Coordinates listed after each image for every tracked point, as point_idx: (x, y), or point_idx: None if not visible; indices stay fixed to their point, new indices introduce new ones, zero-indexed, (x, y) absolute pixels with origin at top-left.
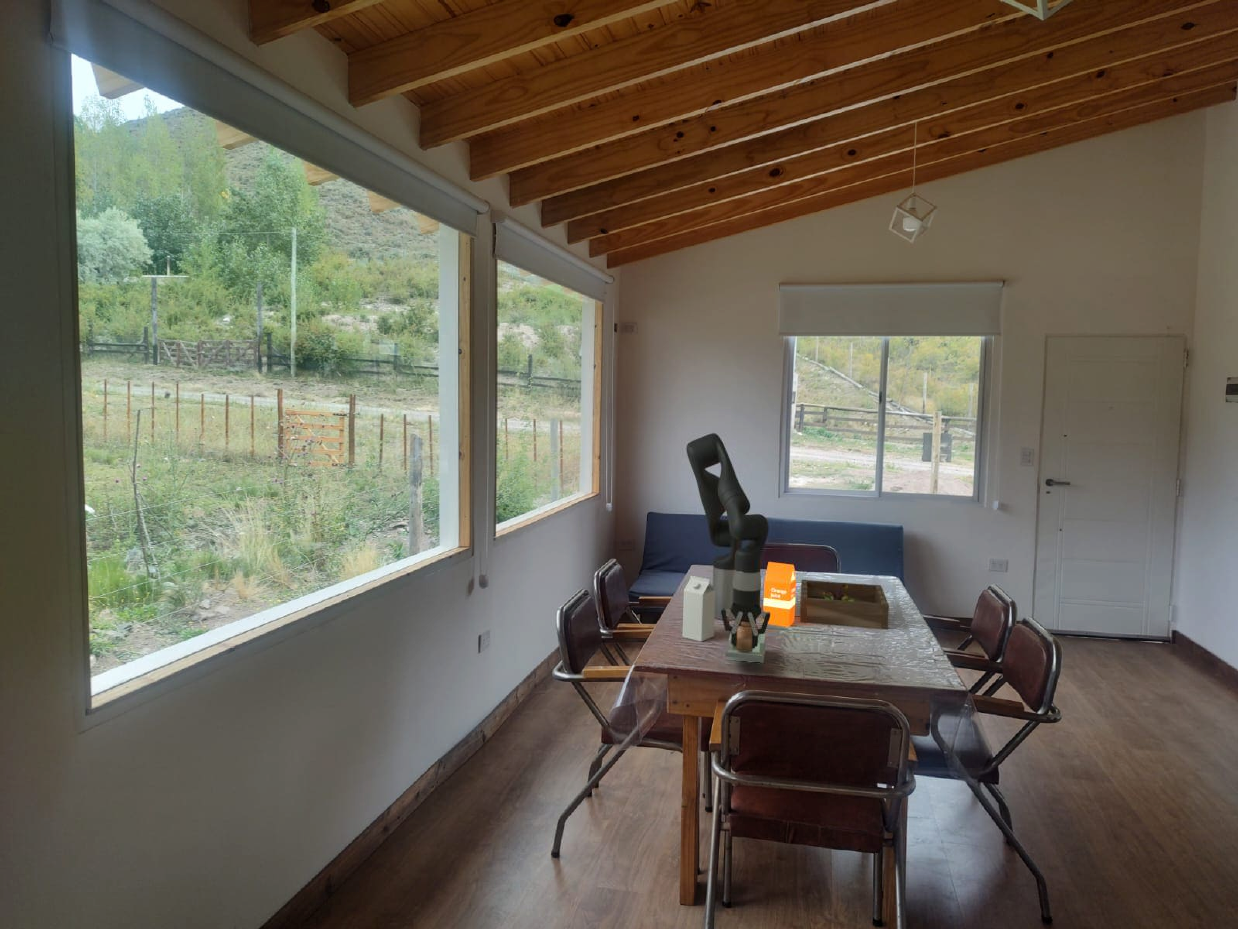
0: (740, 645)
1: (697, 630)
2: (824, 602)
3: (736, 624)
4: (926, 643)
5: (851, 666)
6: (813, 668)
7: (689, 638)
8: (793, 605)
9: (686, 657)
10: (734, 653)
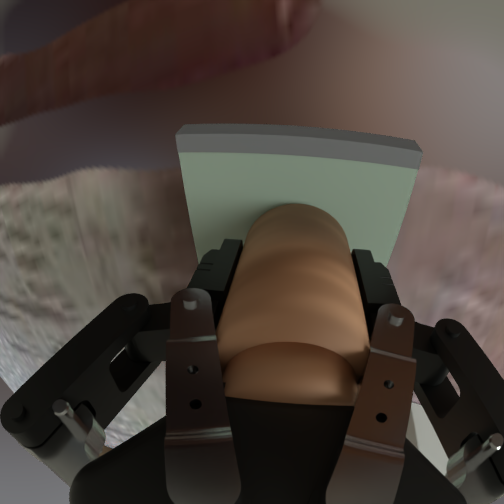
0: (325, 228)
1: (423, 428)
2: None
3: (391, 363)
4: (7, 383)
5: (16, 292)
6: (66, 266)
7: None
8: None
9: (491, 289)
10: (365, 142)
